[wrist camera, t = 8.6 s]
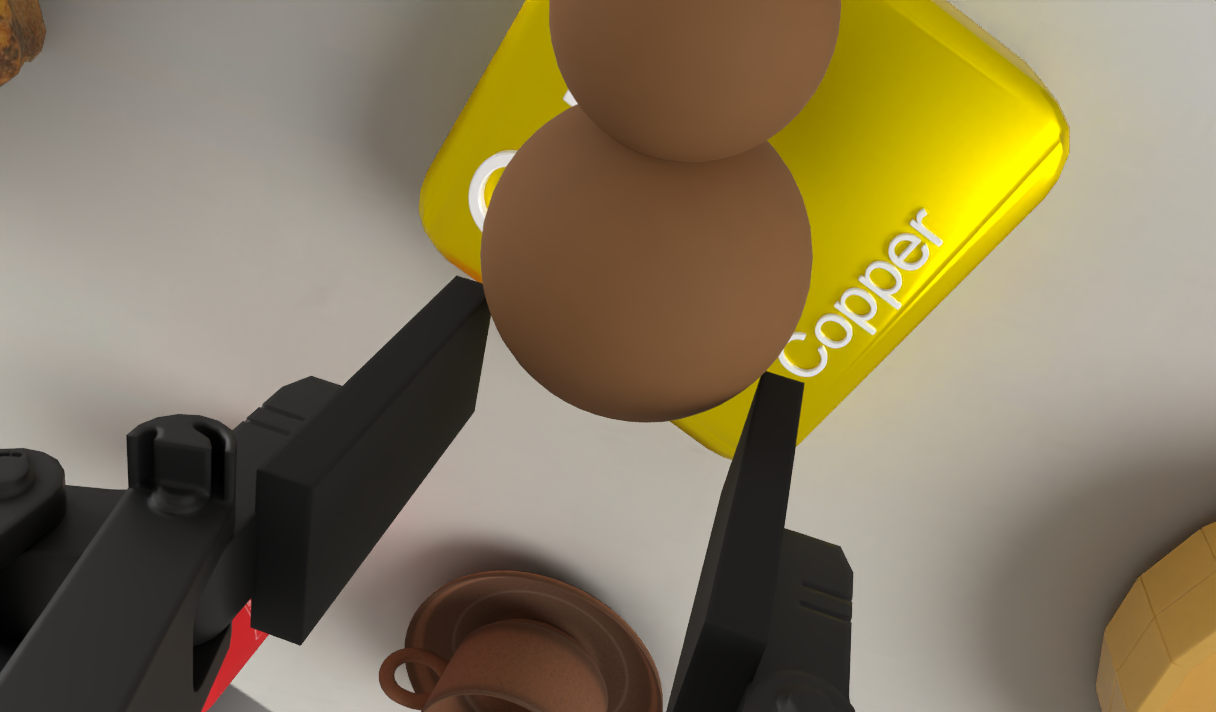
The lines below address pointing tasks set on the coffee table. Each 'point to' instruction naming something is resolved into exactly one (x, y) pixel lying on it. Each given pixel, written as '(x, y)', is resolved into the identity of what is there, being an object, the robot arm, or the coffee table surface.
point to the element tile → (822, 179)
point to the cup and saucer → (521, 651)
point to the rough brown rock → (19, 35)
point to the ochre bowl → (1165, 635)
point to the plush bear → (659, 205)
